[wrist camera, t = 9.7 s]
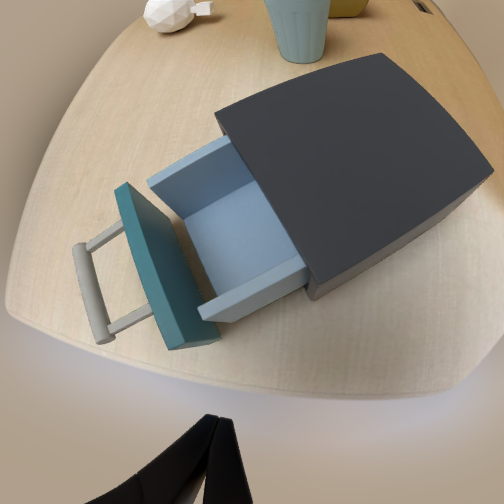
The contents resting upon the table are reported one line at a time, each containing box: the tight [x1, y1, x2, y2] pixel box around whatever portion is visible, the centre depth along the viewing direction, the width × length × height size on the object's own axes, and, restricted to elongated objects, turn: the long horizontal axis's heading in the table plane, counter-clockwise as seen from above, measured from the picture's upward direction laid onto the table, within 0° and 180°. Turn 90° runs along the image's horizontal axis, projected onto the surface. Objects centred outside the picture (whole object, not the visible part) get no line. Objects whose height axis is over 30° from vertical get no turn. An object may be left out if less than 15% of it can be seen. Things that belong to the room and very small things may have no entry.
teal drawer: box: [72, 135, 311, 350], centre depth 19 cm, size 18×11×8 cm, turn 117°
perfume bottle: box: [143, 0, 214, 32], centre depth 32 cm, size 9×9×12 cm
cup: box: [264, 0, 330, 64], centre depth 24 cm, size 8×8×10 cm
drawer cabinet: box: [214, 53, 494, 302], centre depth 19 cm, size 15×13×9 cm
